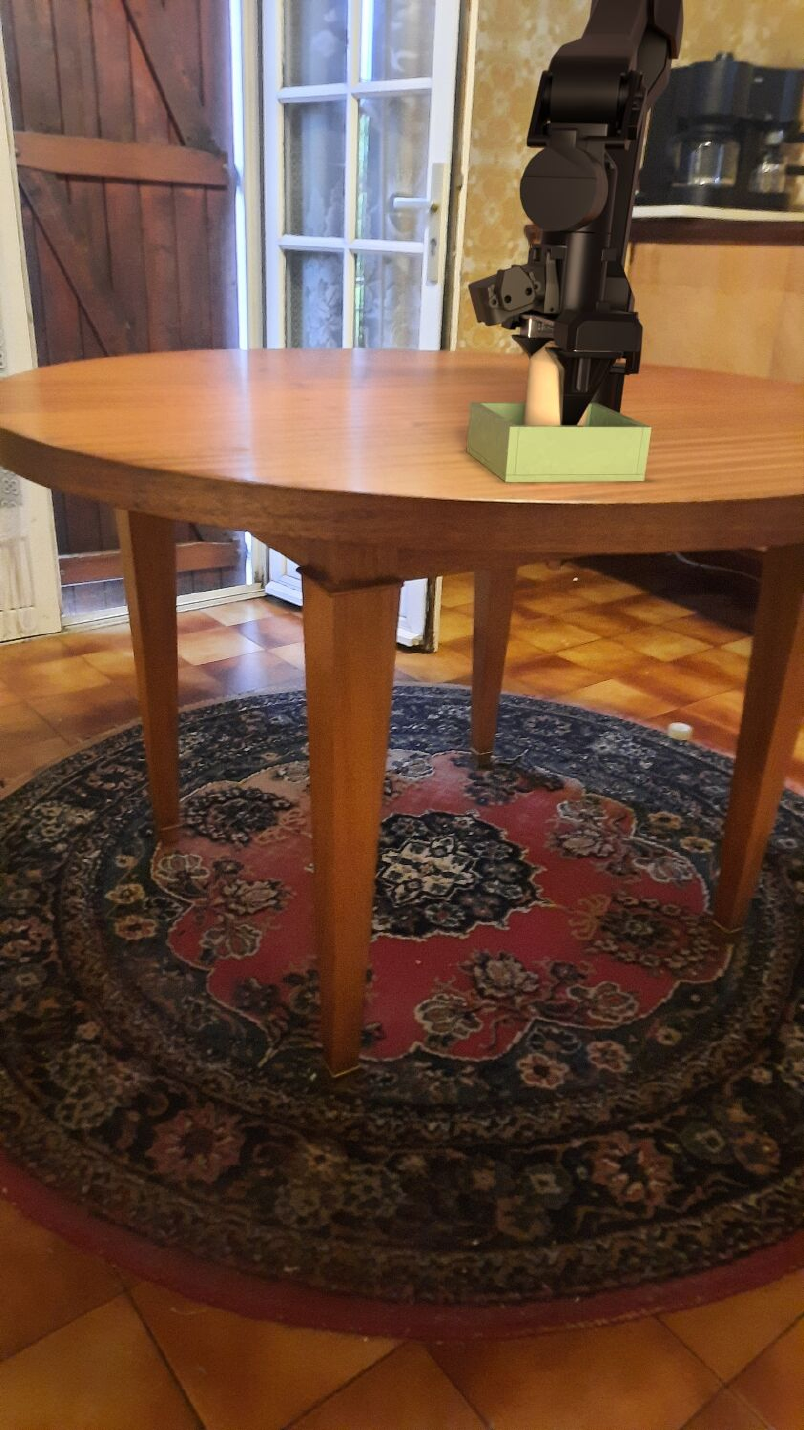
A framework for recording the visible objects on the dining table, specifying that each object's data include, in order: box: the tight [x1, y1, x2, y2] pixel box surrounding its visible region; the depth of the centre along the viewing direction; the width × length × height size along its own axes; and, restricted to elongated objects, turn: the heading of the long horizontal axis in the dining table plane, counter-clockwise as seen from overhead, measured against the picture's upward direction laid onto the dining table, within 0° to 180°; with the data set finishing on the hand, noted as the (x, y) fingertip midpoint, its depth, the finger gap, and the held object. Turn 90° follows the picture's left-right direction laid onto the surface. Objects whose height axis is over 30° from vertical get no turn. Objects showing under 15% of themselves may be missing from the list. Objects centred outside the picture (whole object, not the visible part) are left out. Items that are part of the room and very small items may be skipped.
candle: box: [524, 341, 588, 425], centre depth 90 cm, size 6×6×10 cm
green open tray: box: [466, 401, 653, 483], centre depth 92 cm, size 13×13×5 cm
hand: (555, 425), depth 91 cm, fingers closed on candle, 5 cm apart
